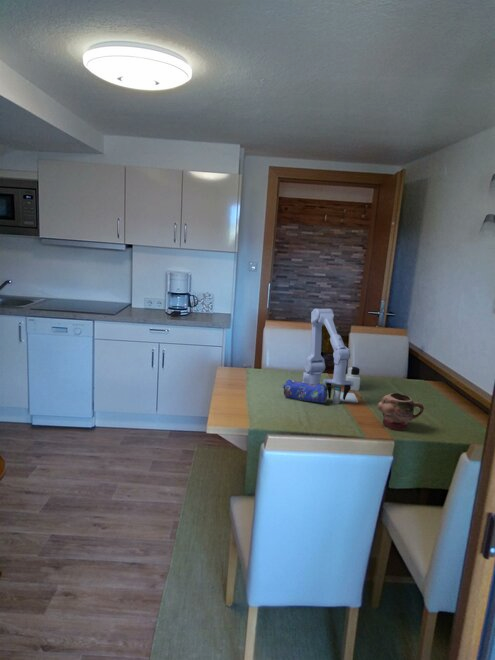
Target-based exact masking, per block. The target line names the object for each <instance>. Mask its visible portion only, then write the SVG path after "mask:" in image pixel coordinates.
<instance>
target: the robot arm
mask: <svg viewBox="0 0 495 660" xmlns="http://www.w3.org/2000/svg"><path fill="white" fill-rule="evenodd" d="M310 314H311V315H310V317H311V318H310V323H311V336H310V337H311V340H310V342H311V343H310V355H308V356H307V357H306V358H305V363H304V370H305V371H303V374H302V381H301V382H302V383H307V384H321V376H322V375H321V374H323V372H324V371H325V369H326V364H325V358H324V357H323V356H322V354H321V353H322V336H323V335H322V332H323V331H322V330H323V329H322V328H323V326H325V327H326V330H327V332H328V334H329V336H330V338H329V341H330V344H331V347H332V350H333V353H332V354H333V355H332V357H333V363H334V367H333V368H334V369H333V376H332V378H325V379H324V378H323V385H325V386H326V387H327V397H328V399H329V400H331V395H332V389H333V386H332V385H334V386H336V385H337V386H343V392H344V393H343V400H345V398H346V395H347V393H348V392H350V391H351V390H350V389H351V386H354V382H352V381H346V380H345V376H346V374H347V373H346V372H347V366H348V360H350V359H351V350H350V349H349V348H348V347H347V346H346V345H345V344H344V341H343V340H344V339H343V338H342V336H341V335H340V334H338V332H337V328H336V325H335V323H334V319H335V318H334V317H335V314H334V311H333V309H331V308H314V309H313V310H312V311H311V313H310Z"/></svg>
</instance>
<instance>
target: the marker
mask: <svg viewBox="0 0 495 660" xmlns="http://www.w3.org/2000/svg"><path fill="white" fill-rule="evenodd" d="M341 392H342V385H334V386H333V395H332V404H333V405H339V404H340V403H341V401H340V395H341Z"/></svg>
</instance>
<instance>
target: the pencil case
mask: <svg viewBox="0 0 495 660" xmlns="http://www.w3.org/2000/svg"><path fill="white" fill-rule="evenodd" d="M281 388H282V389H283V395H284V397H285V398H288V397H289V399H295V400H297V401H298V400H300V401H303V400H304V401H305V402H311V403H312V402H314V403H318V404H325V403H326V401H327V398H328V389H327V386H326V385H325V384H324V383H323V384H321V383H320V384H307V383H302V381H296V380H295V381H294V379H292V378H290V379H288V380H287V381H285V383H284V384H282V386H281Z"/></svg>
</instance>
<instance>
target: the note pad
mask: <svg viewBox="0 0 495 660" xmlns="http://www.w3.org/2000/svg"><path fill="white" fill-rule="evenodd" d="M343 393H344V391H341V395H340V402H345V403H346V402H347V403H357V404H358V403H359V400H358V397H356V395H355V392H350V391H349V392H348V393H347V395H346V398H345V400H343Z"/></svg>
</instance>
